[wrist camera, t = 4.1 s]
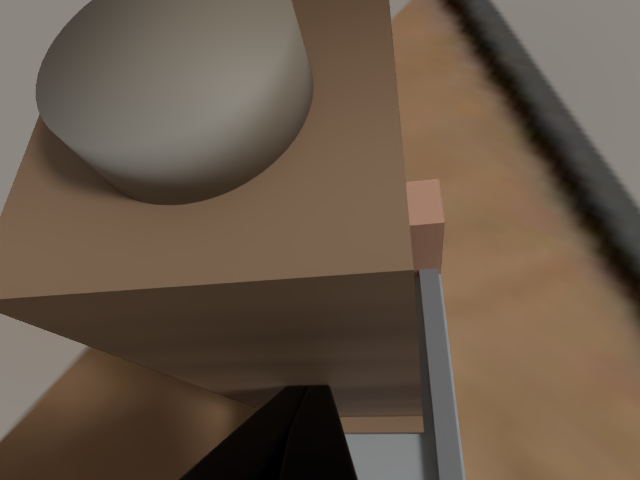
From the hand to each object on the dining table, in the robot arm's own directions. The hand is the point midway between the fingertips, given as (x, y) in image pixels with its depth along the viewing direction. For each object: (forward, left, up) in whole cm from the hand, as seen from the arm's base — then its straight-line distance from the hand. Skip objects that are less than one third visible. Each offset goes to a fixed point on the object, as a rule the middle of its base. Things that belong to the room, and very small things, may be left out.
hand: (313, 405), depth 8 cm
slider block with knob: (+2, 0, -6) cm, 6 cm away
